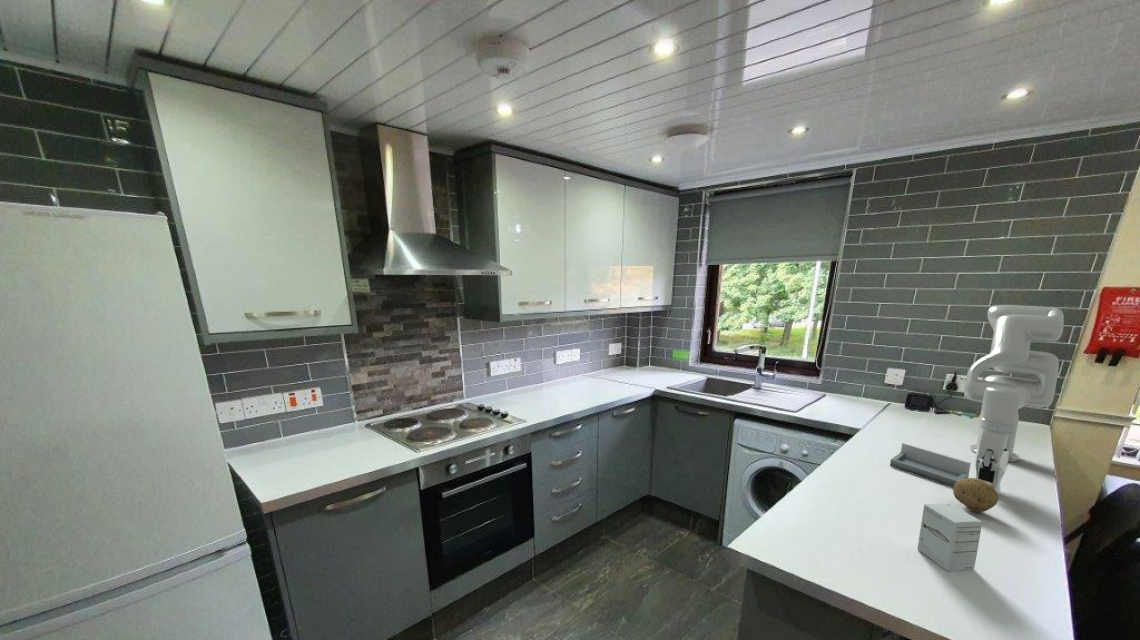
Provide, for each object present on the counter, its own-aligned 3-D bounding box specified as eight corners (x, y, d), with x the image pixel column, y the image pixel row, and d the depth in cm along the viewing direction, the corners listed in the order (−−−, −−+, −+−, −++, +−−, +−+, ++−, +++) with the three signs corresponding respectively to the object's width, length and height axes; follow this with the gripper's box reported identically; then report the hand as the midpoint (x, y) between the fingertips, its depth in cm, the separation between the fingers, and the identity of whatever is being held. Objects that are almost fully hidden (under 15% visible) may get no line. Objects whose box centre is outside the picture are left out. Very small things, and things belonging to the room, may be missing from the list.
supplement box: (915, 549, 95) (922, 503, 94) (942, 548, 96) (949, 501, 94) (947, 572, 88) (954, 522, 86) (976, 571, 88) (984, 521, 87)
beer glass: (1009, 498, 118) (1017, 452, 117) (983, 495, 120) (990, 450, 118) (989, 485, 125) (996, 443, 123) (965, 483, 127) (971, 440, 125)
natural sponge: (981, 523, 106) (986, 489, 105) (943, 504, 114) (947, 473, 113) (1002, 518, 108) (1008, 485, 107) (963, 500, 117) (968, 469, 116)
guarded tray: (901, 457, 144) (903, 442, 143) (968, 478, 129) (970, 462, 129) (890, 465, 138) (892, 450, 137) (959, 489, 123) (961, 472, 122)
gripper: (985, 416, 128) (977, 464, 130) (973, 427, 118) (965, 478, 120) (1019, 424, 122) (1011, 474, 124) (1009, 436, 112) (1000, 490, 114)
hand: (988, 476), depth 122 cm, fingers open, 9 cm apart
